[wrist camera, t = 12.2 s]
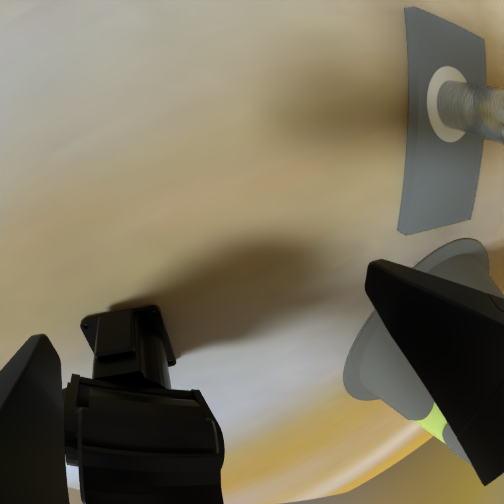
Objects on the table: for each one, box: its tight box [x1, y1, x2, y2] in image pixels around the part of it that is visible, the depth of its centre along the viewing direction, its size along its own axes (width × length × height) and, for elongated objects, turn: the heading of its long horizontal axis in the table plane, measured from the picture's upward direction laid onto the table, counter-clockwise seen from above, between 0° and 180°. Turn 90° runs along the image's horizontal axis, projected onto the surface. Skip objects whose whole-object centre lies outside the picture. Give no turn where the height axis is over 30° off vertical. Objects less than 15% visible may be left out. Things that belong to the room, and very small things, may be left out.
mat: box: [397, 7, 486, 236], centre depth 22 cm, size 20×11×1 cm, turn 4°
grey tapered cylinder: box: [343, 238, 504, 475], centre depth 27 cm, size 28×28×24 cm
